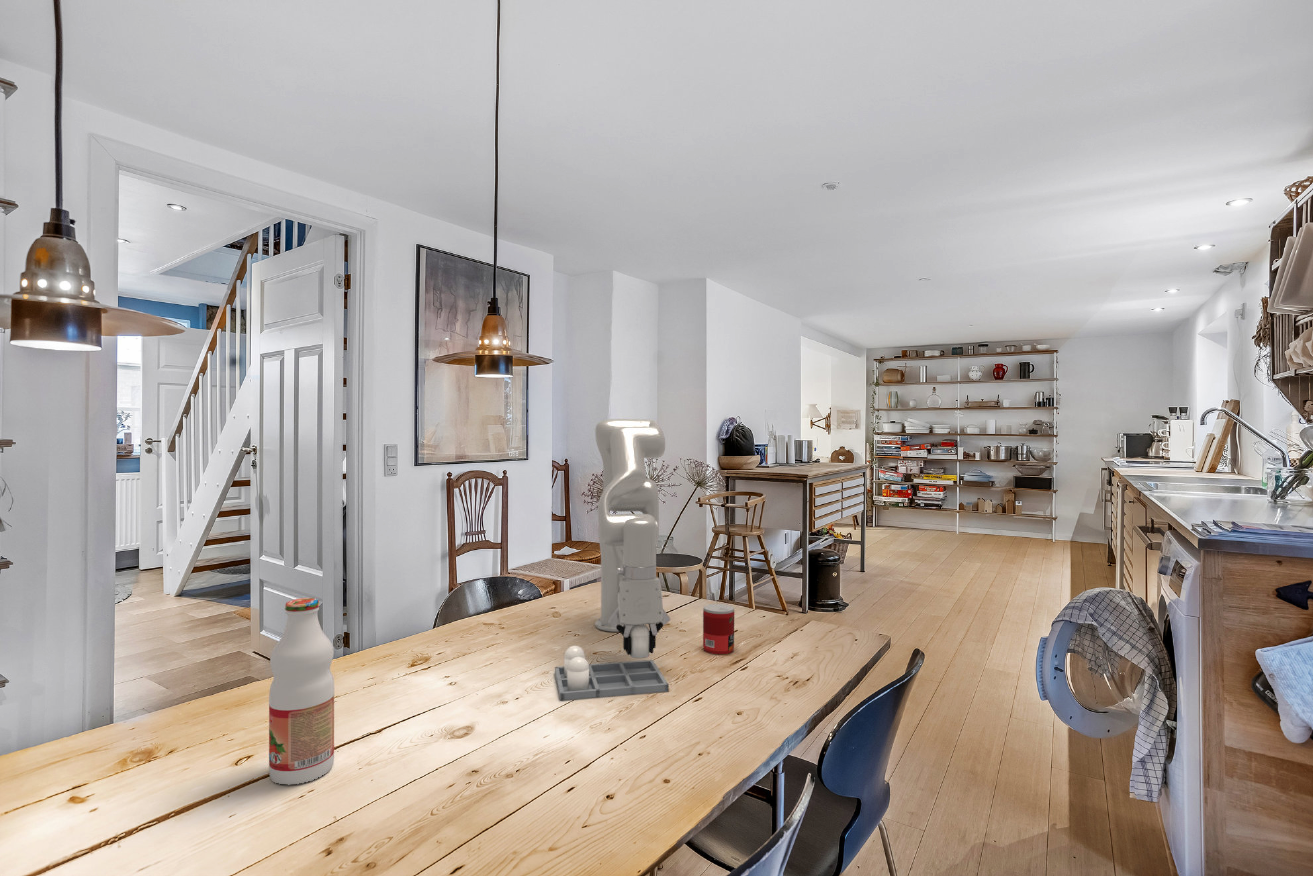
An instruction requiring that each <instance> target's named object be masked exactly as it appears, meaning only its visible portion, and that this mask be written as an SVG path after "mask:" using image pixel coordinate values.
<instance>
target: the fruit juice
mask: <svg viewBox="0 0 1313 876" xmlns="http://www.w3.org/2000/svg"><path fill="white" fill-rule="evenodd" d="M319 610H320V600H319V599H318V598H315V597H304V598H303V597H302V598H301V597H300V598H296V599H295V598H294V599H291V600H289V601H287V602H286V603H285V607H284V611H285V614H286V616H287V618H286V619H287V620H286V623H285V628H284V629H283V630H284V631H283V633H282V636H281V637H280V639H279V641H278V642H277V643H276V644H275V646H274V647H273V649H272V650H271V653H270V660H269V663H270V664H269V665H270V669H271V671H272V674H273V679H272V681H271V684H270V686H269V697H268V774H269V777H270V780H271V782H273V783H274V782H275V783H274V784H276V783H279V784H278V785H280V784H288V785H287V786H291V785H290V784H297V785H300V784H299V783H302V784H305V783H304V782H306V783H309V782H308V781H310V782H312V781H315V780H317V779H319V778H322V777H323V776H325V775H326V774H327V773H328V772H330V771H331V770H332V768H333V766H334V761H335V681H334V680H335V679H334V676H333V673H332V671H331V665H332V662H333V657H334V646H333V644H332V642H331V640H330V638H329V637H328V636H327V635H326V634H325V633H324V631H323V629H322V627H321V625H320V621H319V618H318V611H319ZM324 774H325V775H324ZM322 775H323V776H322ZM318 777H319V778H318ZM314 779H315V780H314Z"/></svg>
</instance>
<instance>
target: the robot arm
mask: <svg viewBox="0 0 1313 876" xmlns="http://www.w3.org/2000/svg"><path fill="white" fill-rule="evenodd" d="M594 430H595V442H596V446H597V448H598V452H599V454H600V457H601V460H602V465H603V466H602V467H603V468H602V469H603V470H602V471H603V472H602V473H603V474H602V476H603V479H602V481H603V485H602V486H603V487H602V488H603V491H602V493H601V495H600V497H599V500H598V505H597V524H598V528H597V529H598V530H597V535H598V540H599V541H598V542H599V550H600V574H601V575H600V576H601V578H600V580H601V581H600V598H601V599H600V618H598V619H597V620H596V621H595V628H597V629H598V630H601V631H605V632H613V633H615V632H616V633H620V634H622V637H623V638H622V643H623V644H622V645H623V651H625V653H626V654H627V656H629V655H630V654H631V637H630V634H629V633H630V629H631V627H632V626H633V625H641V624H645V625H648V629H649V654H653V653H654V649H656V645H657V644H656V639H657V638H656V636H657V635H658V632H660V630H661V629H663V627H664V626H665V625H667V623H669V622H670V621H671V617H670V616H669V615H668V613H667V612H666V611H665V609H664V606H663V605H664V604H663V594H662V592H663V591H662V585H661V580H660V578H659V576H658V577H657V545H658V542H659V538H660V537H659V536H660V535H659V534H660V532H659V531H660V527H659V526H660V522H659V521H660V520H659V519H660V518H659V515H660V512H659V511H660V506H659V505H660V502H659V489H658V488H659V487H658V486H657V483H656V482H655V481H654V480H653V479H651V478H647V471H646V465H645V464H646V463H645V461H646V460H645V459H658V458H662V456H664V453H665V451H666V438H665V434H664V431H663V429H662V428H661V426H660V425H659V424H658V423H657V421H655V420H654V419H643V418H642V419H641V418H639V419H638V418H637V419H634V418H633V419H631V418H630V419H629V418H611V419H604V420H601V421H599V422H598V423H597V424H596V425H595V429H594ZM610 512H623V513H620V514H619V513H618V514H617V513H616V514H615V513H614V514H613V513H612V514H611V513H610ZM625 512H641V513H625Z"/></svg>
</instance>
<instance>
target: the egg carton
mask: <svg viewBox="0 0 1313 876" xmlns="http://www.w3.org/2000/svg"><path fill="white" fill-rule="evenodd" d="M588 664H589V690H578V691H567V678H564V666H554V677H555V681H556V686H557V691H558V696H559V701H560V702H565V701H577V700H587V699H589V700H590V699H598V698H599V699H601V698H611V697H621V696H622V697H623V696H634V695H635V696H636V695H644V694H645V695H646V694H657V693H669V689H670V688H669V687H670V685H669V683H668V681H667V680H666V678H665V677H664V675H663V673H662V672H661V671H660V669H659V667H658V666H657V664H656V663H655V661H654V660H653V659H645V660H644V659H643V660H630V661H617V662H605V663H591V664H590V663H588Z"/></svg>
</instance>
